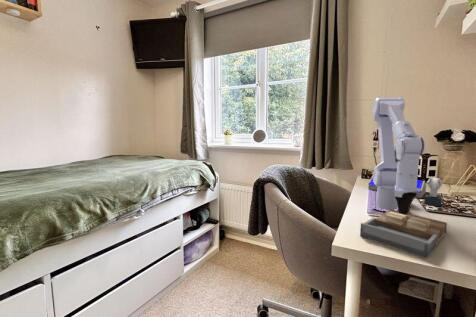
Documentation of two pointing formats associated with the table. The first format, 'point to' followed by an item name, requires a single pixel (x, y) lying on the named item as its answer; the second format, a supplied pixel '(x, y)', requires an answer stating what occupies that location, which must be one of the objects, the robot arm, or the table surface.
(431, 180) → the grey and teal figurine
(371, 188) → the roof
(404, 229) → the walnut board
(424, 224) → the tile
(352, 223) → the table surface
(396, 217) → the tile
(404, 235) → the slate bin
